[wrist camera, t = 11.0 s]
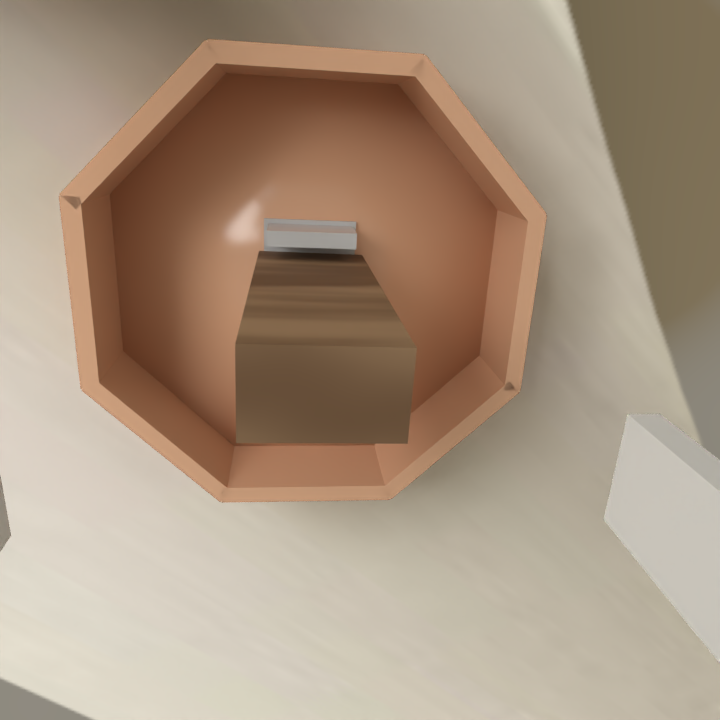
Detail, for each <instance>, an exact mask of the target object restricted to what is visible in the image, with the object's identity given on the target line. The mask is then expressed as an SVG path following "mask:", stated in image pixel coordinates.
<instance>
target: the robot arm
mask: <svg viewBox="0 0 720 720" xmlns="http://www.w3.org/2000/svg"><path fill="white" fill-rule="evenodd" d="M604 521H605V522H606V523H607V525H608V526H609V527H610V528H611V530H612V531H613V532H614V533H615V535H616V536H617V537H618V538H619V540H620V541H621V542H622V543H623V544H624V546H625V547H626V548H627V549H628V551H629V552H630V553H631V554H632V556H633V557H634V558H635V559H636V561H637V562H638V563H639V564H640V566H641V567H642V568H643V569H644V570H645V572H646V573H647V574H648V575H649V577H650V578H651V579H652V580H653V582H654V583H655V584H656V585H657V587H658V588H659V589H660V590H661V592H662V593H663V594H664V595H665V597H666V598H667V599H668V600H669V601H670V603H671V604H672V605H673V606H674V608H675V609H676V610H677V611H678V613H679V614H680V615H681V616H682V618H683V619H684V620H685V621H686V623H687V624H688V625H689V626H690V627H691V629H692V630H693V631H694V632H695V634H696V635H697V636H698V637H699V639H700V640H701V641H702V642H703V644H704V645H705V646H706V647H707V649H708V650H709V651H710V652H711V654H712V655H713V656H714V657H715V658H716V660H717V661H718V662H719V663H720V460H719V459H718V458H716V457H715V456H714V455H713V454H711V453H710V452H709V451H707V450H706V449H705V448H704V447H702V446H701V445H700V444H698V443H697V442H696V441H695V440H693V439H692V438H691V437H689V436H688V435H687V434H685V433H684V432H683V431H682V430H680V429H679V428H678V427H676V426H675V425H674V424H672V423H671V422H670V421H669V420H667V419H666V418H665V417H663V416H662V415H661V414H627V418H626V423H625V427H624V432H623V436H622V440H621V445H620V449H619V454H618V458H617V462H616V467H615V471H614V476H613V480H612V484H611V489H610V493H609V498H608V502H607V507H606V511H605V515H604ZM10 536H11V533H10V527H9V522H8V516H7V510H6V505H5V499H4V494H3V488H2V482H1V477H0V551H1V550H2V548H3V547H4V545H5V544H6V542H7V541H8V539H9V538H10Z"/></svg>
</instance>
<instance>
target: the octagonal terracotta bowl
mask: <svg viewBox="0 0 720 720" xmlns="http://www.w3.org/2000/svg"><path fill="white" fill-rule="evenodd" d="M60 195H61V196H59V202H60V211H61V220H62V229H63V237H64V246H65V255H66V264H67V273H68V282H69V290H70V299H71V308H72V317H73V326H74V335H75V343H76V352H77V361H78V370H79V379H80V387H81V389H82V391H83V392H84V393H85V394H87V395H88V396H89V397H90V398H92V399H93V400H94V401H95V402H97V403H98V404H99V405H100V406H102V407H103V408H104V409H105V410H106V411H108V412H109V413H110V414H111V415H113V416H114V417H115V418H116V419H118V420H119V421H120V422H121V423H123V424H124V425H125V426H126V427H128V428H129V429H130V430H131V431H133V432H134V433H135V434H136V435H138V436H139V437H140V438H141V439H142V440H144V441H145V442H146V443H147V444H149V445H150V446H151V447H152V448H154V449H155V450H156V451H157V452H159V453H160V454H161V455H162V456H164V457H165V458H166V459H167V460H169V461H170V462H171V463H172V464H174V465H175V466H176V467H177V468H178V469H180V470H181V471H182V472H183V473H185V474H186V475H187V476H188V477H190V478H191V479H192V480H193V481H195V482H196V483H197V484H198V485H200V486H201V487H202V488H203V489H205V490H206V491H207V492H208V493H210V494H211V495H212V496H213V497H214V498H216V499H217V500H218V501H219V502H221V501H222V502H279V501H341V500H390V499H392V498H393V497H394V496H396V495H397V494H398V493H399V492H400V491H402V490H403V489H404V488H405V487H406V486H408V485H409V484H410V483H411V482H412V481H414V480H415V479H416V478H417V477H418V476H420V475H421V474H422V473H423V472H424V471H426V470H427V469H428V468H429V467H430V466H432V465H433V464H434V463H435V462H436V461H438V460H439V459H440V458H441V457H442V456H444V455H445V454H446V453H447V452H449V451H450V450H451V449H452V448H453V447H455V446H456V445H457V444H458V443H459V442H461V441H462V440H463V439H464V438H465V437H467V436H468V435H469V434H470V433H471V432H473V431H474V430H475V429H476V428H477V427H479V426H480V425H481V424H482V423H483V422H485V421H486V420H487V419H488V418H489V417H491V416H492V415H493V414H494V413H495V412H497V411H498V410H499V409H500V408H501V407H503V406H504V405H505V404H506V403H507V402H509V401H510V400H511V399H512V398H513V397H515V396H516V395H517V394H518V393H519V391H520V390H521V383H522V377H523V370H524V364H525V357H526V350H527V344H528V337H529V330H530V324H531V317H532V311H533V304H534V297H535V291H536V284H537V278H538V271H539V264H540V258H541V251H542V245H543V238H544V231H545V225H546V218H547V215H546V212H545V211H544V210H543V208H542V207H541V206H540V204H539V203H538V202H537V200H536V199H535V198H534V197H533V195H532V194H531V193H530V191H529V190H528V189H527V187H526V186H525V185H524V183H523V182H522V181H521V179H520V178H519V177H518V175H517V174H516V173H515V172H514V170H513V169H512V168H511V166H510V165H509V164H508V162H507V161H506V160H505V158H504V157H503V156H502V154H501V153H500V152H499V150H498V149H497V148H496V146H495V145H494V144H493V143H492V141H491V140H490V139H489V137H488V136H487V135H486V133H485V132H484V131H483V129H482V128H481V127H480V125H479V124H478V123H477V121H476V120H475V119H474V118H473V116H472V115H471V114H470V112H469V111H468V110H467V108H466V107H465V106H464V104H463V103H462V102H461V100H460V99H459V98H458V96H457V95H456V94H455V92H454V91H453V90H452V89H451V87H450V86H449V85H448V83H447V82H446V81H445V79H444V78H443V77H442V75H441V74H440V73H439V71H438V70H437V69H436V67H435V66H434V65H433V64H432V62H431V61H430V60H429V58H428V57H427V56H426V55H425V56H424V54H415V53H401V52H387V51H373V50H358V49H344V48H330V47H316V46H302V45H287V44H273V43H259V42H245V41H231V40H216V39H207V41H206V40H205V41H204V42H203V43H202V44H201V45H200V46H199V47H198V48H197V49H196V50H195V51H194V52H193V53H192V54H191V55H190V56H189V57H188V59H187V60H186V61H185V62H184V63H183V64H182V65H181V66H180V67H179V68H178V69H177V70H176V71H175V72H174V73H173V74H172V75H171V76H170V78H169V79H168V80H167V81H166V82H165V83H164V84H163V85H162V86H161V87H160V88H159V89H158V90H157V91H156V92H155V93H154V94H153V96H152V97H151V98H150V99H149V100H148V101H147V102H146V103H145V104H144V105H143V106H142V107H141V108H140V109H139V110H138V111H137V112H136V114H135V115H134V116H133V117H132V118H131V119H130V120H129V121H128V122H127V123H126V124H125V125H124V126H123V127H122V128H121V129H120V130H119V132H118V133H117V134H116V135H115V136H114V137H113V138H112V139H111V140H110V141H109V142H108V143H107V144H106V145H105V146H104V147H103V148H102V149H101V151H100V152H99V153H98V154H97V155H96V156H95V157H94V158H93V159H92V160H91V161H90V162H89V163H88V164H87V165H86V166H85V167H84V169H83V170H82V171H81V172H80V173H79V174H78V175H77V176H76V177H75V178H74V179H73V180H72V181H71V182H70V183H69V184H68V185H67V187H66V188H65V189H64V190H63V191H62V192H61V193H60ZM259 251H278V252H303V253H328V254H352V255H362V256H363V257H364V259H365V261H366V262H367V264H368V266H369V268H370V269H371V271H372V273H373V274H374V276H375V278H376V279H377V281H378V283H379V285H380V286H381V288H382V290H383V291H384V293H385V295H386V296H387V298H388V300H389V302H390V303H391V305H392V307H393V308H394V310H395V312H396V313H397V315H398V317H399V318H400V320H401V322H402V324H403V325H404V327H405V329H406V330H407V332H408V334H409V335H410V337H411V339H412V341H413V342H414V344H415V346H416V347H417V352H416V363H415V373H414V383H413V394H412V404H411V414H410V425H409V435H408V444H353V443H236V382H235V343H236V339H237V335H238V331H239V327H240V323H241V319H242V315H243V311H244V307H245V304H246V300H247V296H248V292H249V288H250V284H251V280H252V276H253V272H254V269H255V265H256V261H257V257H258V253H259Z"/></svg>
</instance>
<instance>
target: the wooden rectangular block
mask: <svg viewBox="0 0 720 720" xmlns="http://www.w3.org/2000/svg"><path fill="white" fill-rule="evenodd" d="M416 352H417V347H416V346H415V344H414V342H413V341H412V339H411V337H410V335H409V334H408V332H407V330H406V329H405V327H404V325H403V324H402V322H401V320H400V318H399V317H398V315H397V313H396V312H395V310H394V308H393V307H392V305H391V303H390V302H389V300H388V298H387V296H386V295H385V293H384V291H383V290H382V288H381V286H380V285H379V283H378V281H377V279H376V278H375V276H374V274H373V273H372V271H371V269H370V268H369V266H368V264H367V262H366V261H365V259H364V257H363V256H362V255H352V254H328V253H303V252H278V251H259V253H258V257H257V261H256V265H255V269H254V272H253V276H252V280H251V284H250V288H249V292H248V296H247V300H246V304H245V307H244V311H243V315H242V319H241V323H240V327H239V331H238V335H237V339H236V343H235V382H236V443H353V444H408V435H409V425H410V414H411V404H412V394H413V383H414V373H415V363H416Z"/></svg>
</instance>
